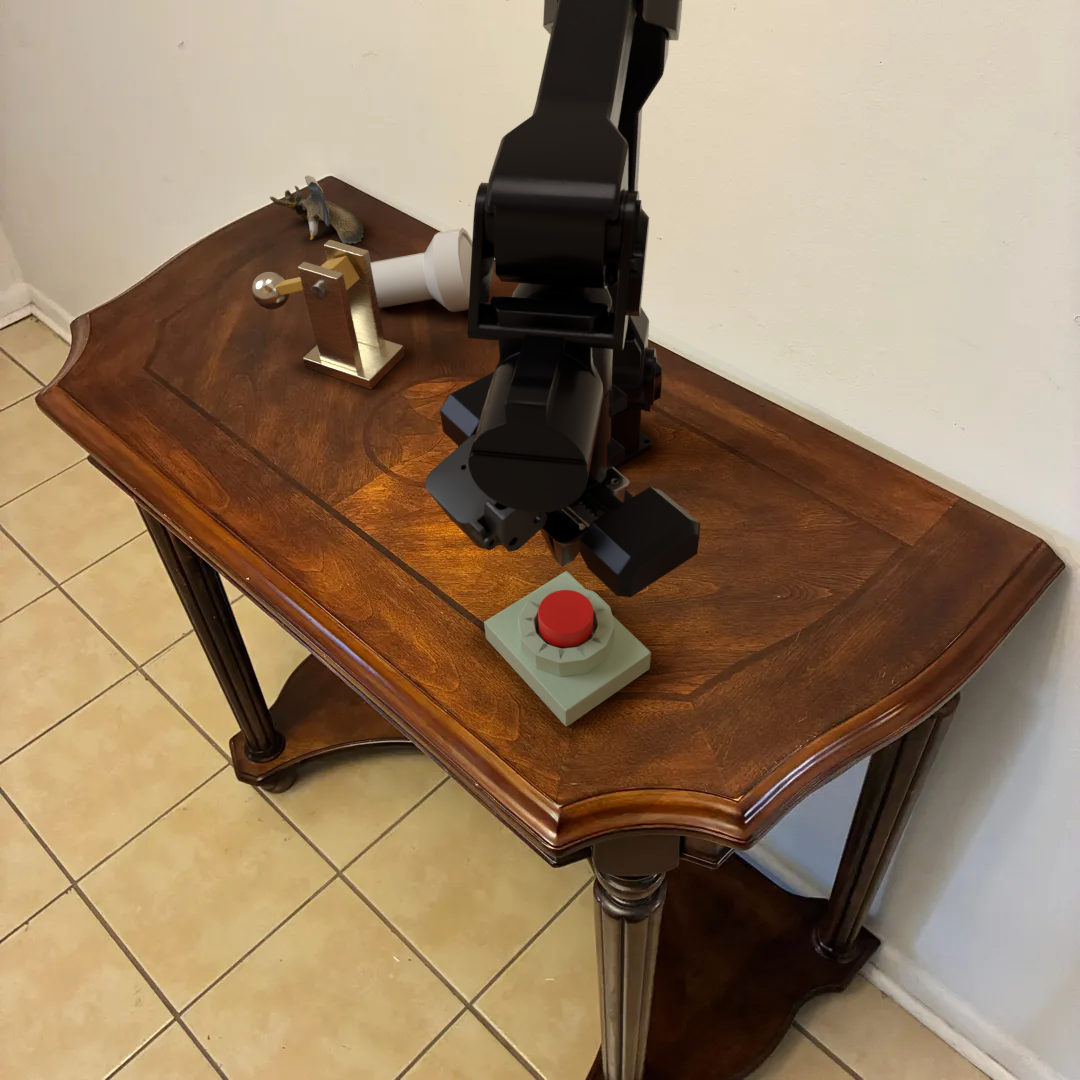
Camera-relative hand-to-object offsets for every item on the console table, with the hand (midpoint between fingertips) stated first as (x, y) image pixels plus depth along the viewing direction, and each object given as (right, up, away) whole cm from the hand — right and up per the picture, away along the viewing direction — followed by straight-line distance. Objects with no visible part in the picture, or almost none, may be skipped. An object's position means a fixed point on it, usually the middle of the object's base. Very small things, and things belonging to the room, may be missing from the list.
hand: (564, 560), depth 67 cm
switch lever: (-24, +25, +29) cm, 45 cm away
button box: (0, -7, +8) cm, 11 cm away
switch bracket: (-20, +19, +32) cm, 43 cm away
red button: (0, -5, +6) cm, 7 cm away
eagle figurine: (-27, +37, +49) cm, 67 cm away
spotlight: (-13, +26, +38) cm, 48 cm away
